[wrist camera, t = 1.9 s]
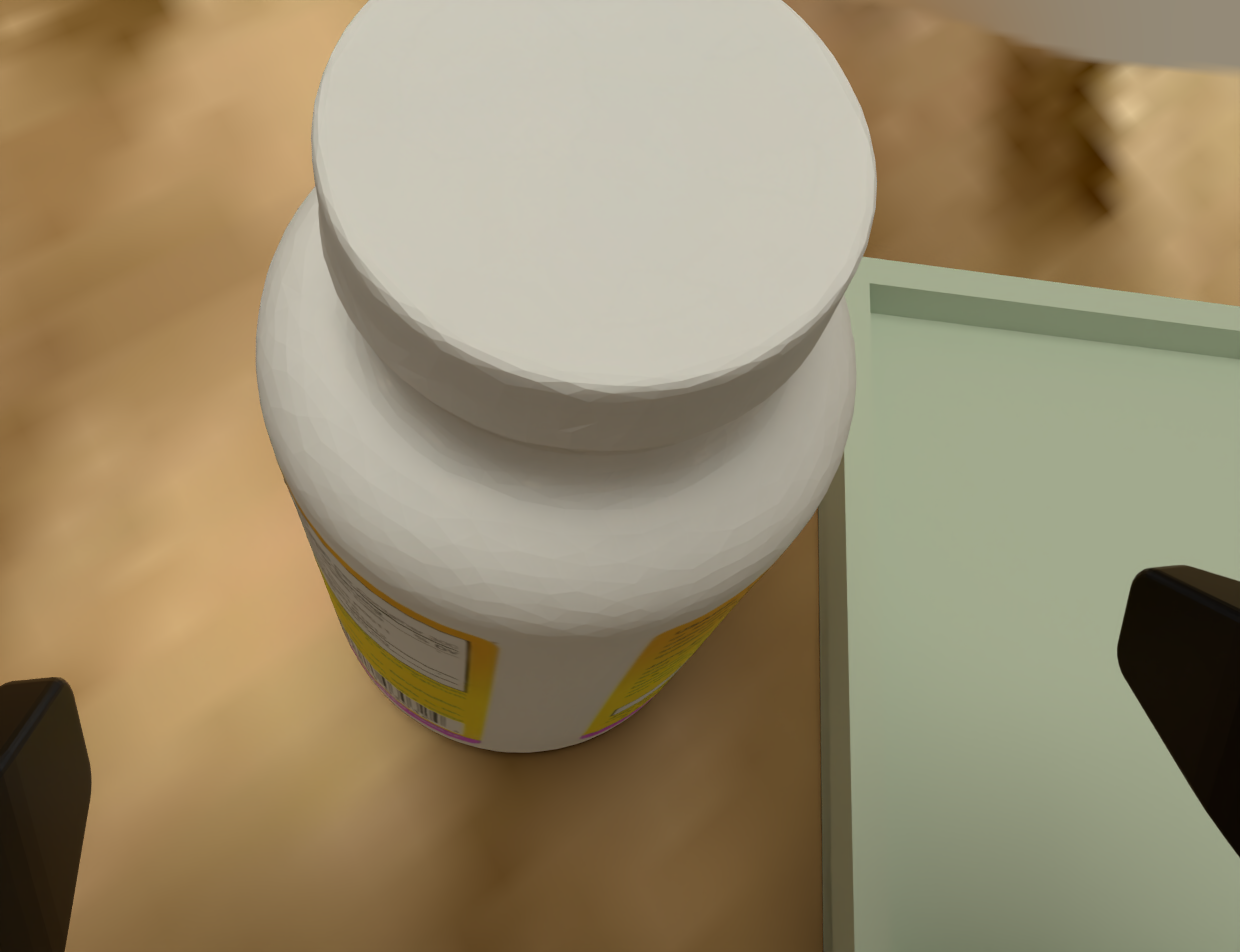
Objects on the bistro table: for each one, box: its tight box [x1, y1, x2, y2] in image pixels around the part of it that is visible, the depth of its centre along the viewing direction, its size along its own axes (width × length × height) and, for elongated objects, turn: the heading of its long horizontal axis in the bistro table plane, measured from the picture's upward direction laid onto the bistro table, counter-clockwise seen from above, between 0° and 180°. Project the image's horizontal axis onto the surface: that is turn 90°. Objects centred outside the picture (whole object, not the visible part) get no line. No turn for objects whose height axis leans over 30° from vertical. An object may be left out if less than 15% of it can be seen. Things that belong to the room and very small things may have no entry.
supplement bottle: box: [256, 0, 877, 753], centre depth 15 cm, size 7×7×13 cm
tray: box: [818, 257, 1240, 952], centre depth 22 cm, size 14×14×2 cm
